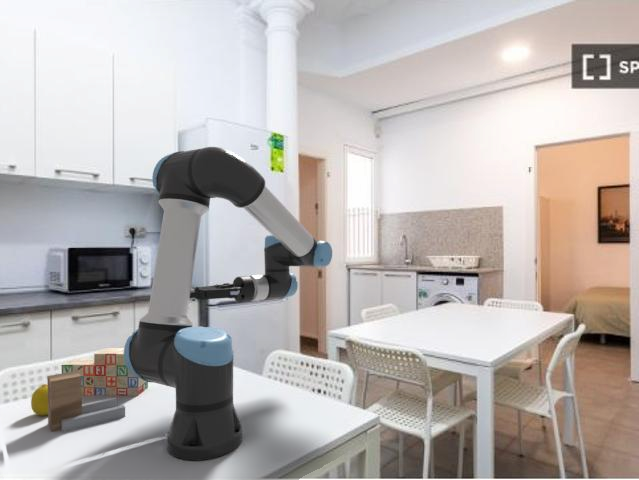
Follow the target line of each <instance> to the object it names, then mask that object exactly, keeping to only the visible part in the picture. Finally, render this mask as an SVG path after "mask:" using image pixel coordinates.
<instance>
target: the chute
mask: <svg viewBox="0 0 639 480" xmlns="http://www.w3.org/2000/svg"><path fill="white" fill-rule="evenodd" d="M124 417H126V406H125V405H124V404H122V405H118V399H117V397H116V396H112V397H108V398H104V399H98V400H95V401H90V402H87V403H82V415H79V416H75V417H71V418H66V419H62V420H61V429H60V430H61V432H62V433H65V432H70V431H73V430H76V429H81V428H85V427H89V426H93V425H96V424H100V423H105V422H108V421H113V420H115V419H116V420H117V419H120V418H124Z"/></svg>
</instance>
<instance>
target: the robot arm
mask: <svg viewBox="0 0 639 480" xmlns="http://www.w3.org/2000/svg"><path fill="white" fill-rule="evenodd" d="M152 171H153V172H152V180H151V181H152V186H153V188H155V190H154V191H155V193H156V194H157V196H158V197H159V198H158V204H159V205H160V207H161V208H162V209H163V215H162V222H161V227H160V233H159V241H158V247H157V251H156V252H157V253H156V259H155V265H154V273H153V278H152V285H151V291H150V296H149V297H150V299H149V304H148V311H147V313H146V314H145V315H144V316H142V317H141V318H140V319H139V322H138V328H137V329H135V330H134V331H133V332H132V334H131V335H129V336H128V338H127V339H126V342H125V344H124V347H123V348H124V361H125V364H126V366H127V368H128V370H129V371H130V372H131V373H132V374H133V375H134V376H136V377H138V378H141V379H142V380H144V381H147V382H148V383H153V384H158V385H162V386H166V387H169V388H174V389H175V411H174V414H173V417H172V421H171V424H170V428H169V429H168V430H169V431H168V434H167V439H166V440H167V443H166V444H167V445H166V447H167V451H168V453H169V454H170V455H171V456H173V457H174V458H177V459H180V460H181V459H182V460H184V461H185V460H187V461H203V460H211V459H215V458H218V457H221V456H224V455H226V454H229V453H231V452H233V451H234V450H236V449H237V448H238V447H239V446H240V445H241V444H242V441H243V428H242V425H241V420H240V418H239V416H238V413H237V410H236V408H235V404H234V349H233V340H232V337H231V335H230V334H229V333H228V332H227V331H225V330H223V329H220V328H217V327H211V326H206V327H205V326H201V325H200V326H193V325H194V324H193V322H192V321H191V319H189V316H188V313H189V312H188V311H189V307H190V306H189V305H190V301H191V302H195V301H196V300H202V301H204V300H214V299H215V300H217V299H234V300H235V301H236V302H237V303H239V304H240V303H241V304H242V303H249V302H256V303H260V301H266V300H275V299H276V300H277V299H284V298H288V297H289V298H290V297H292V296H294V295H296V293H297V290H298V285H299V283H298V281H297V277H296V275H295V274H294V273H291V272H290V267H304V268H326V267H328V266H329V265H330V263H331V261H332V259H333V248H332V246H331V244H330V242H328V241H326V240H325V241H324V240H316V239H315V238H314V237H313V235H312V234H311V233H310V232H309V231H308V230H307V229H306V228H305V227H304V226H303V225H302V224H301V222H300V221H298V220H297V218H296V217H295V216H294V215H293V214H292V213H291V211H289V209H287V207H286V206H285V205H283V203H282V202H281V201H280V200H279V199H278V198H277V197H276V196H275V194H273V192H271V190H270V189H269V188H268V187H267V186H266V185H267V184H266V180H265V177H263V175H262V174H261V173H260V172H259V171H258V170H257V169H256V168H255V167H254V166H253V165H251V164H250V163H249V162H248V161H246V160H245V159H244V158H242V157H241V156H239V155H238V154H236V153H234V152H232V151H230V150H227V149H225V148H223V147H220V146H219V147H218V146H208V147H202V148H198V149H197V148H196V149H191V150H186V151H184V150H181V151H175V152H172V153H170V154H167V155H164V156H163V157H162V158H161V159H159V160H158V161H157V163H156V164H155V167H154V169H153V170H152ZM215 198H219V199H224V200H227V201H229V202H230V203H231V204H232V205H234V206H235V207H236V208H241V209H244V210H245V211H246V212H247V213H248V214H249V215H250V216H251V217H253V219H255V221H257V222H258V223H259V224H260V225H261V226H262V227H263V228H264V229H265V230H266V231H268V233H270V235H266V236H265V238H264V248H263V250H264V251H263V252H264V253H263V254H264V274H255V275H243V276H242V275H240V276H237V277H235V278H234V279H233V282H232V283H229V282H225V283H222V284H217V283H216V284H213V285H206V286H195V287H192V286H193V285H192V283H193V278H194V269H195V262H196V257H197V256H196V255H197V248H198V242H199V241H198V240H199V235H200V229H201V222H202V221H201V219H202V216H203V215H205V214H206V213H207V212H208V211H209V210H210V204H211V203H210V202H211V199H215Z"/></svg>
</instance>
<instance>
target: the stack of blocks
mask: <svg viewBox="0 0 639 480" xmlns="http://www.w3.org/2000/svg"><path fill="white" fill-rule="evenodd" d="M93 357H94V358H73V359H71V360H69V361H67V362H65V363H63V364H61V374H62V373H68V372H73V371H78V373H79V374H80V375H81V382H82V396H132V397H134V396H135V397H136V396H139V395H141V394H142V393H143V392H145V390H147V389H148V388H149V382H147V381H144V380H142V379H141V378H138V377H136V376H134V375H133V374H132V373H131V372H130V371H129V370H128V368H127V366H126V364H125V361H124V347H112V348H111V347H105V348H103V349H100V350H99V351H97V352H95V353H94V354H93Z"/></svg>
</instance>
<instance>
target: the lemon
mask: <svg viewBox="0 0 639 480" xmlns="http://www.w3.org/2000/svg"><path fill="white" fill-rule="evenodd" d="M32 393H33V394H32V395H31V399H30V406H31V409H32V411H33V413H34V414H36V415H38V416H40V417H43V416H48V383H43V384H42V385H41V386H39V387H38V388H36V389H35V390H34V391H33V392H32Z"/></svg>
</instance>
